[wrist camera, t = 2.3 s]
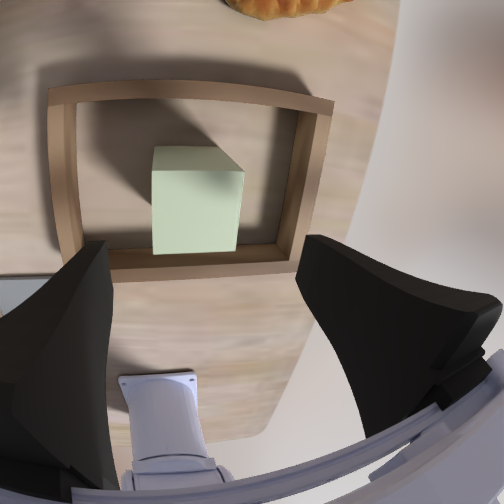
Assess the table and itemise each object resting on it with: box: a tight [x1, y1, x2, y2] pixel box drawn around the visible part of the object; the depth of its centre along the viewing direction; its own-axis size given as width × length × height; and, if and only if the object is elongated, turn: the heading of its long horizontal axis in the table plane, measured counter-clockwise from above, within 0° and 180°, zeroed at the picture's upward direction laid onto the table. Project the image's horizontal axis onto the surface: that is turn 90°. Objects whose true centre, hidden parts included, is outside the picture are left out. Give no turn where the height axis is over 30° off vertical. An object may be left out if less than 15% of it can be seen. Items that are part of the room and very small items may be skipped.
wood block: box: [152, 146, 245, 255], centre depth 15 cm, size 4×4×6 cm
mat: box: [0, 276, 52, 316], centre depth 20 cm, size 10×8×1 cm
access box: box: [47, 80, 335, 283], centre depth 17 cm, size 12×16×2 cm
